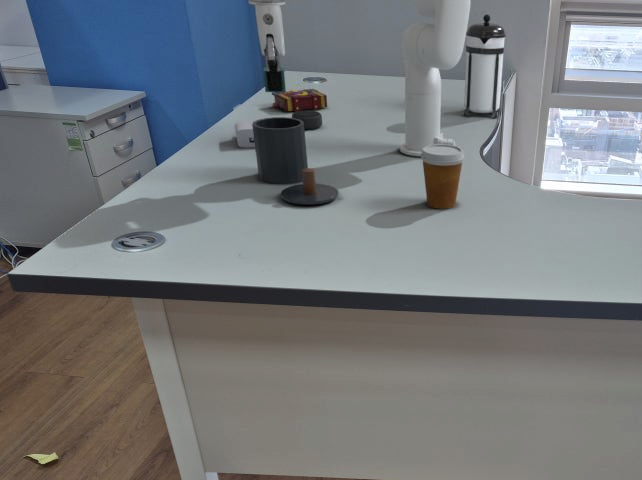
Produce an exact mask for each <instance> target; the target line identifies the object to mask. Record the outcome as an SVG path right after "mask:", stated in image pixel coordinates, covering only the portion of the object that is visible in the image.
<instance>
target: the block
mask: <svg viewBox="0 0 642 480" xmlns="http://www.w3.org/2000/svg"><path fill="white" fill-rule="evenodd" d="M262 69H263V71H262V72H263V81H264V91H265V93H272V92H287V88H286V76H285V67H281V68H280V71H281V75H282V86H283V90H282V91H269V90H268V85H267V75H266V71H267V67H263V68H262Z"/></svg>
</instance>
